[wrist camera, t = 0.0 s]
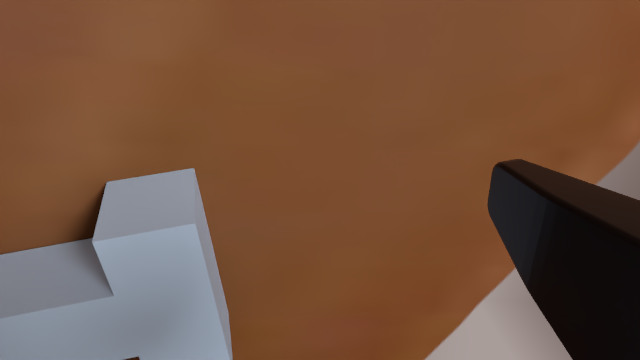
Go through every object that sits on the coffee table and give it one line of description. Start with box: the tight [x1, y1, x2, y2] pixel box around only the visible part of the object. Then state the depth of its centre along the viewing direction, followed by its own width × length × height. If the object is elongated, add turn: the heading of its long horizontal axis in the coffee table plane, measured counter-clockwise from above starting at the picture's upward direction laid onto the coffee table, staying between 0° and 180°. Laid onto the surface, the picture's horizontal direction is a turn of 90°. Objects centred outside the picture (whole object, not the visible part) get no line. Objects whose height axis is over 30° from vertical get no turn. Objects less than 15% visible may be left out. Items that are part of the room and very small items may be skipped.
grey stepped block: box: [0, 168, 233, 360], centre depth 24 cm, size 10×10×4 cm
